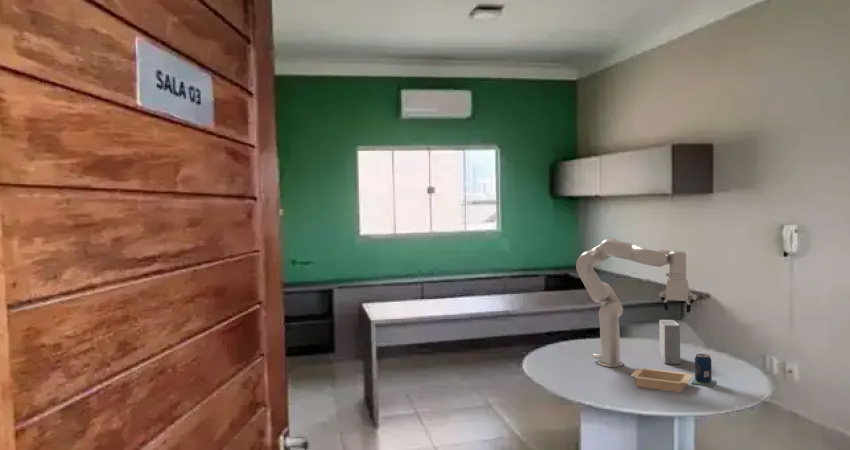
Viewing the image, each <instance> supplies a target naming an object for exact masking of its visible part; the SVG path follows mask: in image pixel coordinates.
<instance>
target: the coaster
mask: <svg viewBox="0 0 850 450" xmlns="http://www.w3.org/2000/svg"><path fill="white" fill-rule="evenodd" d="M716 383H717V379H712V380H711V381H710V383H699V382H697V381H696V379H695V377H694V378H693V380H692V381H691V385H695V386H703V387H711V388H713V387H714V386H715V384H716Z"/></svg>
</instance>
